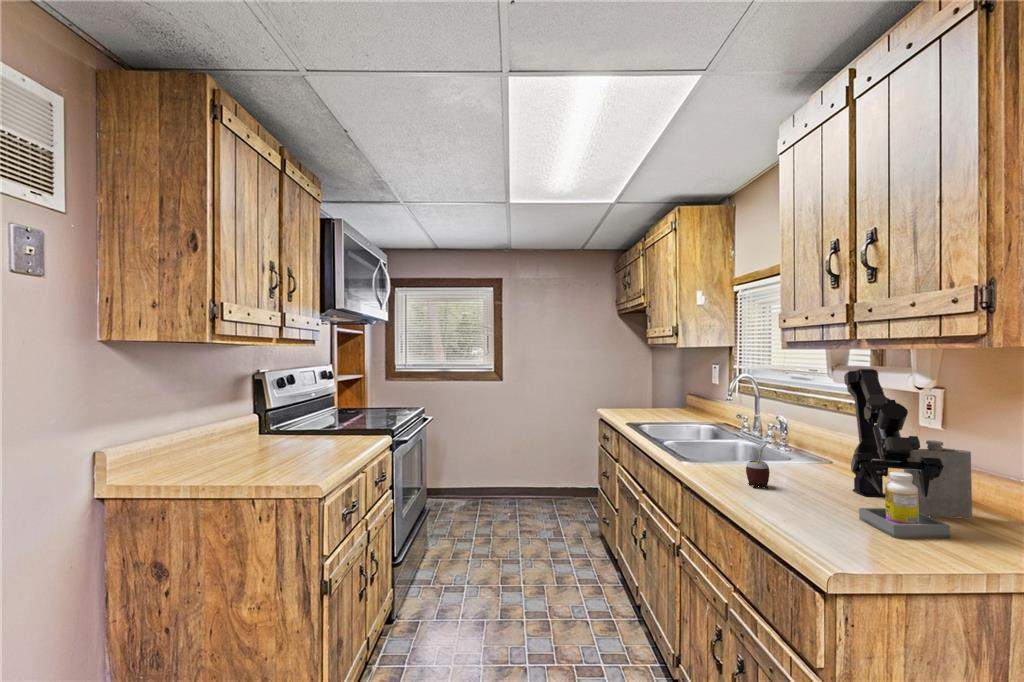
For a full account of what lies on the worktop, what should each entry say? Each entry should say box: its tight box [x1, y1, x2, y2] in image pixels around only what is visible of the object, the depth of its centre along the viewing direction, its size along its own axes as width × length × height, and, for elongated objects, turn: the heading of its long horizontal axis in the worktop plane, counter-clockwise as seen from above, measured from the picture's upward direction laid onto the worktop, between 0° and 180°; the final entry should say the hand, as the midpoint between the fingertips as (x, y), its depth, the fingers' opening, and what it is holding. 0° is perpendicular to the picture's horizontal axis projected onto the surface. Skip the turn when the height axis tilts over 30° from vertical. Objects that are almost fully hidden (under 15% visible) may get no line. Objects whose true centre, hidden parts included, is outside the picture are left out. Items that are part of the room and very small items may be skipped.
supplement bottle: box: [884, 471, 919, 524], centre depth 129 cm, size 7×7×13 cm
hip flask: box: [903, 439, 973, 519], centre depth 138 cm, size 16×4×20 cm, turn 82°
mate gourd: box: [745, 443, 770, 489], centre depth 167 cm, size 8×8×15 cm
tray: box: [858, 507, 951, 539], centre depth 128 cm, size 13×13×3 cm
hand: (903, 494), depth 127 cm, fingers open, 9 cm apart
